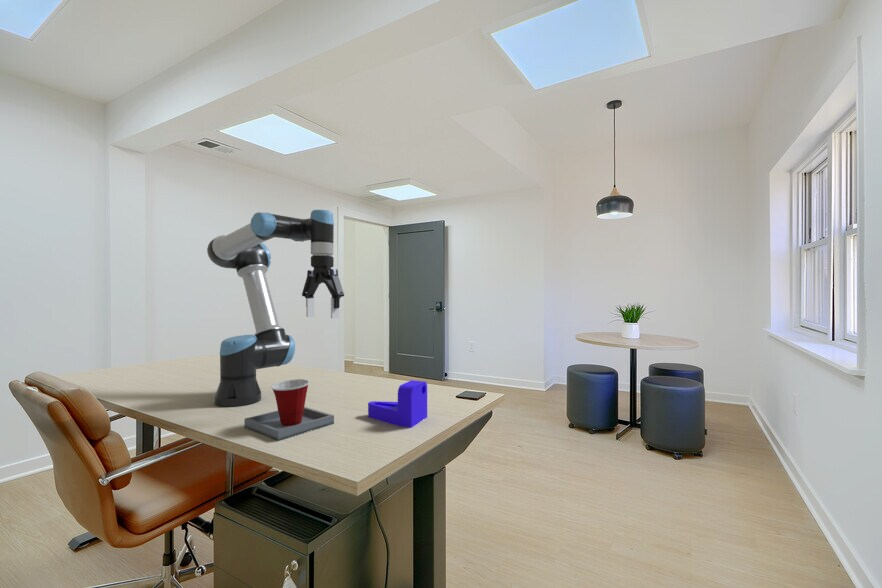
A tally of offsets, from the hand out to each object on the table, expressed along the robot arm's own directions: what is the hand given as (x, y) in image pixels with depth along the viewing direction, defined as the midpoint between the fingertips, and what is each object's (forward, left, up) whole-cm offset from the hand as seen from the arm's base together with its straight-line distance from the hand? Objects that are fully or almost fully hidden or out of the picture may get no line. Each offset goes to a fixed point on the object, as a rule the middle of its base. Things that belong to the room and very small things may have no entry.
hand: (322, 317), depth 140 cm
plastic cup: (+9, -18, -30) cm, 36 cm away
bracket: (+29, +6, -31) cm, 43 cm away
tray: (+9, -18, -31) cm, 37 cm away
